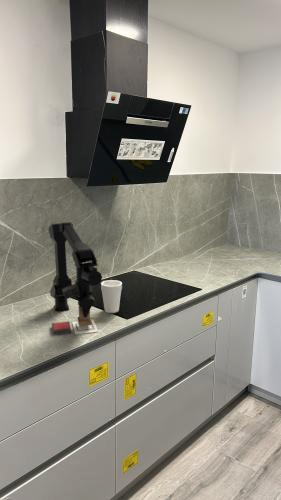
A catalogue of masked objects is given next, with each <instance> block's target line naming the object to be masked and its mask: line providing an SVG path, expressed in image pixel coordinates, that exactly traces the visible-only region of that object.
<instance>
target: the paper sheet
mask: <svg viewBox="0 0 281 500" xmlns="http://www.w3.org/2000/svg"><path fill="white" fill-rule="evenodd" d="M91 322H92V325H85V326H79V324H78V320H77V321H72V322H71V323H72V328H73V331H74V334H75V335H76V336H77V335H85V334H93V333H94V332H95V333H98V332H99V330H98V328H97V325H96V323H95V320H94V319H91ZM95 333H94V334H95Z"/></svg>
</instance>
